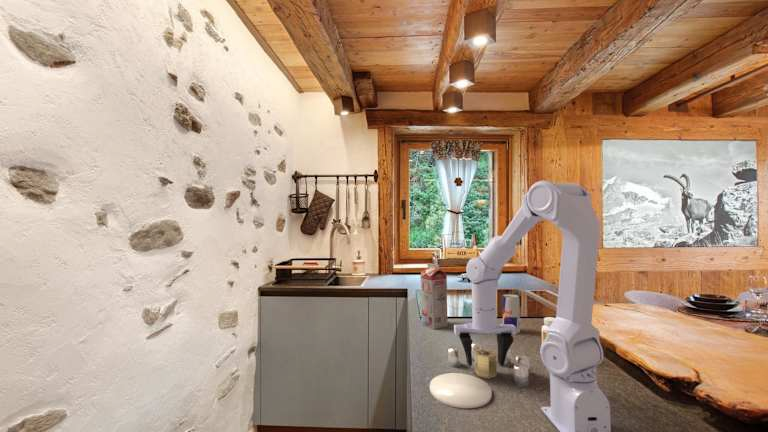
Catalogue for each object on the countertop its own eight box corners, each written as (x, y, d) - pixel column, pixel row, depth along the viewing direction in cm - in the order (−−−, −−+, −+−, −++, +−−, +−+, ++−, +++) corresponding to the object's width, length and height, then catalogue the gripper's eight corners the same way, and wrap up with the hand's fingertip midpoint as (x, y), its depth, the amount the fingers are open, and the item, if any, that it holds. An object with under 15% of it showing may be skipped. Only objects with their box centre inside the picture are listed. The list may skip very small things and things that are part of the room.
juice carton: (432, 329, 108) (431, 265, 109) (421, 324, 114) (420, 263, 115) (447, 326, 111) (446, 264, 112) (435, 321, 117) (434, 262, 118)
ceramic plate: (500, 408, 61) (500, 404, 61) (434, 408, 61) (434, 404, 61) (481, 376, 74) (481, 373, 74) (426, 376, 74) (426, 373, 74)
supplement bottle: (567, 359, 83) (566, 322, 83) (545, 357, 84) (544, 321, 85) (560, 351, 88) (559, 316, 89) (539, 350, 89) (538, 315, 90)
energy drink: (499, 330, 107) (498, 294, 107) (511, 327, 109) (510, 293, 109) (512, 335, 102) (511, 298, 102) (523, 332, 104) (522, 296, 104)
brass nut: (498, 378, 73) (497, 356, 73) (479, 378, 73) (479, 356, 73) (491, 368, 78) (490, 348, 78) (473, 368, 78) (473, 348, 78)
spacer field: (542, 387, 69) (541, 368, 69) (458, 387, 69) (458, 369, 69) (512, 356, 85) (512, 341, 86) (445, 356, 86) (444, 341, 86)
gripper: (507, 303, 80) (508, 356, 80) (451, 303, 80) (451, 357, 80) (519, 310, 73) (520, 369, 73) (457, 311, 73) (458, 369, 73)
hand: (485, 364), depth 76 cm, fingers open, 7 cm apart
